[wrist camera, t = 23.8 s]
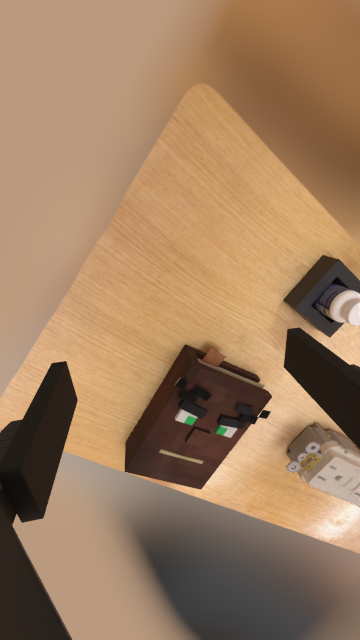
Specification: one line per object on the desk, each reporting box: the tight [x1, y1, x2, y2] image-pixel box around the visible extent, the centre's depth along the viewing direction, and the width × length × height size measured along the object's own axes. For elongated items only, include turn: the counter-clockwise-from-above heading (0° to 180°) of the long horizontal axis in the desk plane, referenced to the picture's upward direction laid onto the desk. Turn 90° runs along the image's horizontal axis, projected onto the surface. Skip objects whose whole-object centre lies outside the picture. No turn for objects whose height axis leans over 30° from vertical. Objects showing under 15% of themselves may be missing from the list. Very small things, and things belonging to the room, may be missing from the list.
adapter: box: [283, 255, 360, 337], centre depth 47 cm, size 10×10×4 cm
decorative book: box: [125, 344, 272, 489], centre depth 51 cm, size 19×8×30 cm
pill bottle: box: [311, 282, 360, 326], centre depth 44 cm, size 5×5×10 cm
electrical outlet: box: [286, 423, 360, 507], centre depth 62 cm, size 12×28×10 cm, turn 57°
